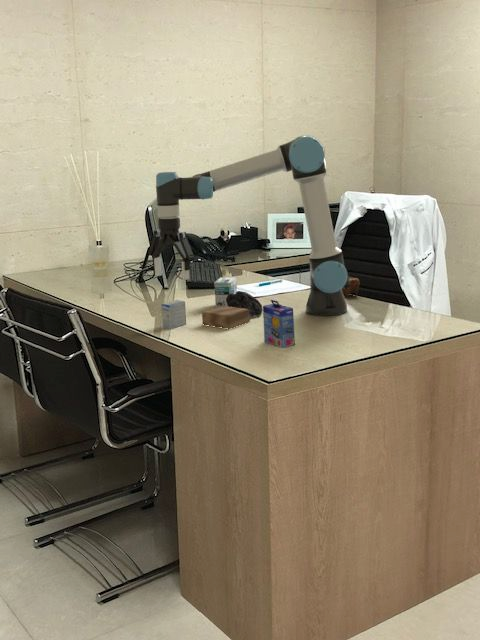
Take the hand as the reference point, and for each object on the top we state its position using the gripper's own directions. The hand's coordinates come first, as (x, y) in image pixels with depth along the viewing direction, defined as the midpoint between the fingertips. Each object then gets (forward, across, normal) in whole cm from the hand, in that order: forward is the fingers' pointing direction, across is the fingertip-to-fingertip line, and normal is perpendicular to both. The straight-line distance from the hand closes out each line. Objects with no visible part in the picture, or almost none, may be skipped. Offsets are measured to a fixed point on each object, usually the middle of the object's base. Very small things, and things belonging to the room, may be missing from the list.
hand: (172, 277), depth 281 cm
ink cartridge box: (+17, -47, 0) cm, 50 cm away
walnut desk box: (+18, -15, -11) cm, 26 cm away
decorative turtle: (+17, -26, -73) cm, 79 cm away
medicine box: (+18, -1, +1) cm, 18 cm away
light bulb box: (+17, +3, -32) cm, 37 cm away
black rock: (+17, -12, -25) cm, 33 cm away
